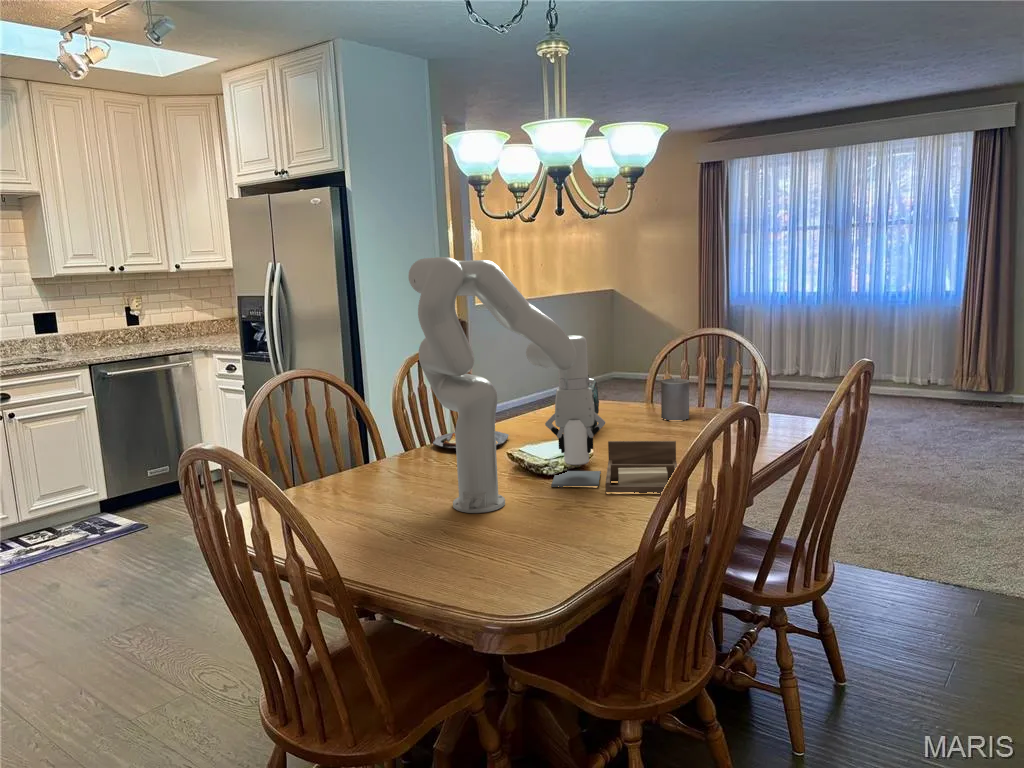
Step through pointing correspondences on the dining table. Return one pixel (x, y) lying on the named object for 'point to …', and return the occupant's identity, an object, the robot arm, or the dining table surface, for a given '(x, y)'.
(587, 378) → the robot arm
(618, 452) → the open wooden box
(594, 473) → the mat
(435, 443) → the food plate
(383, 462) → the dining table surface
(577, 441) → the can
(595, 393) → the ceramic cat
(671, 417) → the pillar candle
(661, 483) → the offcut lower
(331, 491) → the dining table surface
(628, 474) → the offcut upper
